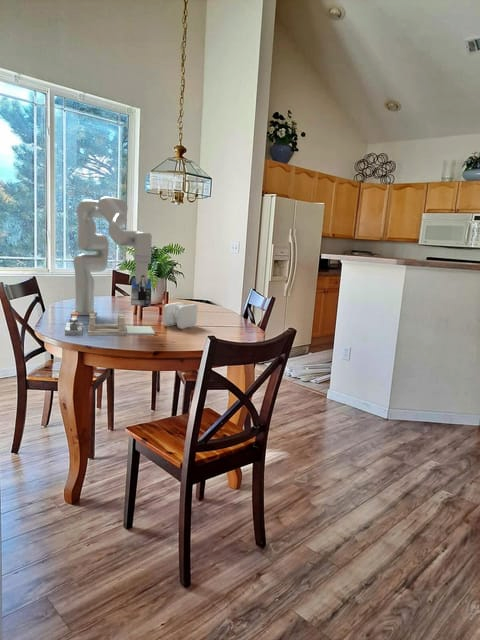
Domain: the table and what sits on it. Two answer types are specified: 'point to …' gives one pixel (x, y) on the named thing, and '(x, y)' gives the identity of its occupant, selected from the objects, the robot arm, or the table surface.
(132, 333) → the tray
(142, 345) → the table surface
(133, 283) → the blue box
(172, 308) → the cable organizer
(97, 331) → the holder
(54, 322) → the table surface
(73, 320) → the lever
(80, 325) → the base
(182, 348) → the table surface
